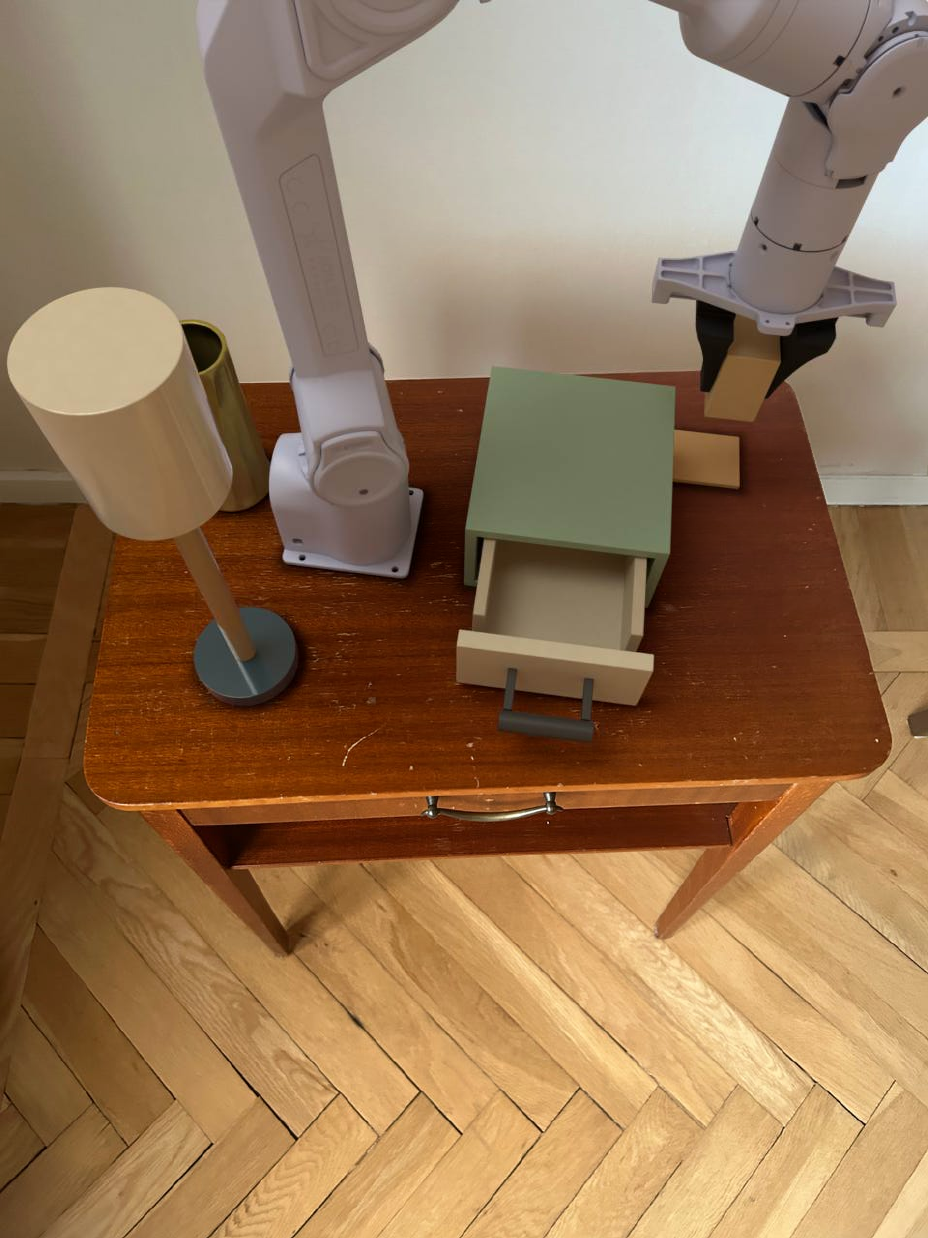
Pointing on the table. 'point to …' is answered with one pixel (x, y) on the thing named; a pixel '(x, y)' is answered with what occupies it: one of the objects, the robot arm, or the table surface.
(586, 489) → the cabinet
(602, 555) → the drawer
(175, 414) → the lamp
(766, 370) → the tan wooden block
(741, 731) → the table surface
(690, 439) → the pad
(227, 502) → the vase
